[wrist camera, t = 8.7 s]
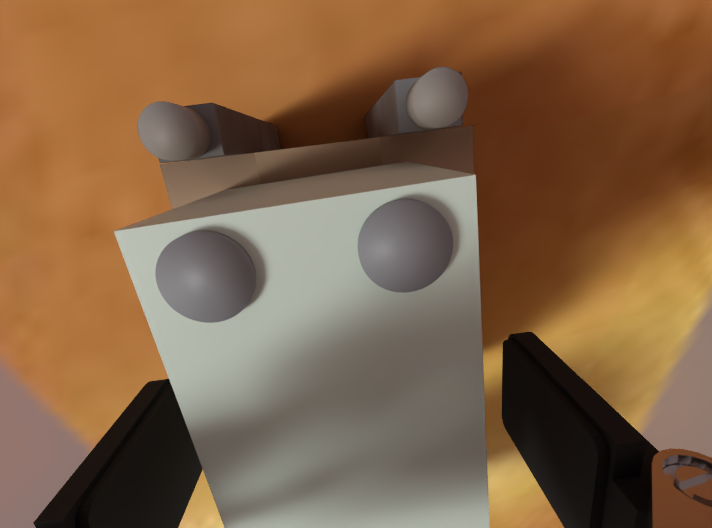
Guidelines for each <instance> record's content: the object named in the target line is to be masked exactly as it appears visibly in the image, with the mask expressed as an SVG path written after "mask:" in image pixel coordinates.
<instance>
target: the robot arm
mask: <svg viewBox="0 0 712 528" xmlns="http://www.w3.org/2000/svg"><path fill="white" fill-rule="evenodd" d="M502 420H503V424H504V426H505V429H506V431H507V432H508V434H509V436H510V437H511V439H512V441H513V442H514V444H515V446H516V447H517V449H518V451H519V452H520V454H521V456H522V457H523V459H524V461H525V462H526V464H527V466H528V467H529V469H530V471H531V472H532V474H533V476H534V477H535V479H536V481H537V482H538V484H539V486H540V487H541V489H542V491H543V492H544V494H545V496H546V497H547V499H548V501H549V502H550V504H551V506H552V507H553V509H554V511H555V512H556V514H557V516H558V518H559V519H560V521H561V523H562V524H563V526H564V528H712V458H711V457H708V456H705V455H703V454H700V453H697V452H693V451H689V450H684V449H667V450H662V451H660V452H659V451H658V450H657V449H656V448H655V447H654V446H653V445H651V444H650V443H649V442H648V441H647V440H646V439H645V438H644V437H643V436H642V435H641V434H640V433H639V432H638V431H637V430H636V429H635V428H634V427H632V426H631V425H630V424H629V423H628V422H627V421H626V420H625V419H624V418H623V417H622V416H621V415H620V414H619V413H618V412H617V411H616V410H614V409H613V408H612V407H611V406H610V405H609V404H608V403H607V402H606V401H605V400H604V399H603V398H602V397H601V396H600V395H599V394H598V393H596V392H595V391H594V390H593V389H592V388H591V387H590V386H589V385H588V384H587V383H586V382H585V381H584V380H583V379H581V378H580V377H579V376H578V375H577V374H576V373H575V372H574V371H573V370H572V369H571V368H570V367H569V366H568V365H566V364H565V363H564V362H563V361H562V360H561V359H560V358H559V357H558V356H557V355H556V354H555V353H554V352H553V351H552V350H551V349H550V348H548V347H547V346H546V345H545V344H544V343H543V342H542V341H541V340H540V339H539V338H538V337H537V336H536V335H535V334H534V333H532V332H524V333H516V334H511V335H509V338H508V340H505V341H504V342H503V371H502ZM202 469H203V468H202V465H201V463H200V460H199V457H198V455H197V452H196V449H195V447H194V444H193V441H192V439H191V436H190V433H189V431H188V428H187V425H186V423H185V420H184V417H183V415H182V412H181V409H180V407H179V404H178V401H177V399H176V396H175V393H174V391H173V388H172V385H171V383H170V380H169V379H165V380H157V381H150V382H148V383H147V384H146V385H145V386H144V387H143V388H142V390H141V391H140V392H139V393H138V394H137V396H136V397H135V398H134V399H133V401H132V402H131V403H130V404H129V406H128V407H127V408H126V409H125V411H124V412H123V413H122V414H121V415H120V417H119V418H118V419H117V420H116V422H115V423H114V424H113V425H112V427H111V428H110V429H109V430H108V431H107V433H106V434H105V435H104V436H103V438H102V439H101V440H100V441H99V443H98V444H97V445H96V446H95V448H94V449H93V450H92V451H91V452H90V454H89V455H88V456H87V457H86V459H85V460H84V461H83V462H82V464H81V465H80V466H79V467H78V469H77V470H76V471H75V472H74V473H73V475H72V476H71V477H70V478H69V480H68V481H67V482H66V484H65V485H64V486H63V487H62V488H61V490H60V491H59V492H58V493H57V495H56V496H55V497H54V498H53V499H52V501H51V502H50V503H49V504H48V505H47V507H46V508H45V509H44V510H43V512H42V513H41V514H40V515H39V517H38V518H37V519H36V520H35V522H34V525H35V527H36V528H178V526H179V524H180V522H181V519H182V517H183V515H184V512H185V510H186V507H187V505H188V503H189V500H190V498H191V495H192V493H193V491H194V488H195V486H196V484H197V481H198V479H199V476H200V474H201V472H202Z"/></svg>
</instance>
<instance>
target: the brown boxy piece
mask: <svg viewBox="0 0 712 528" xmlns="http://www.w3.org/2000/svg"><path fill="white" fill-rule="evenodd" d="M467 102H468V88H467V85H466V82H465V80H464V78H463V77H462V73H461V72H457V71H455V70H454V69H451V68H448V67H438V68H434V69H432V70H430V71H428V72H427V73H426V74H424V75H423V76H422V77H417V78H409V79H401V80H395V81H394V82H393V84H392V85H391V86H390V87H389V88H388V89H387V91H386V92H385V93H384V94H383V95H382V96H381V98H380V99H379V100H378V101H377V102H376V103H375V105H374V106H373V107H372V108H371V109H370V110H369V112H368V113H367V114H366V125H367V135H368V139H361V140H353V141H345V142H337V143H329V144H321V145H313V146H305V147H297V148H289V149H281V146H280V140H279V135H278V129H277V126H275V125H273V124H270V123H267V122H264V121H262V120H259V119H256V118H253V117H250V116H248V115H245V114H242V113H239V112H237V111H234V110H231V109H228V108H225V107H223V106H220V105H217V104H214V103H206V104H198V105H190V106H180V105H177V104H173V103H169V102H155V103H152V104H150V105H148V106H147V107H146V108H145V109H144V110H143V111H142V113H141V114H140V116H139V120H138V133H139V137H140V139H141V141H142V143H143V145H144V146H145V147H146V149H147V150H148V151H149V152H150V153H152V154H153V155H154V156H156V157H158V158H159V162H160V163H167V162H177V163H168V164H160V167H161V171H162V174H163V178H164V181H165V185H166V188H167V192H168V196H169V199H170V203H171V206H172V209H175V208H178V207H180V206H183V205H186V204H188V203H191V202H194V201H196V200H199V199H202V198H204V197H207V196H210V195H212V194H215V193H218V192H220V191H223V190H227V189H234V188H240V187H246V186H253V185H259V184H266V183H272V182H279V181H285V180H291V179H298V178H304V177H311V176H317V175H323V174H330V173H336V172H343V171H349V170H355V169H362V168H368V167H375V166H381V165H387V164H394V163H400V162H407V161H408V162H413V163H418V164H423V165H428V166H433V167H439V168H444V169H449V170H454V171H459V172H464V173H469V174H474V125H473V126H465V127H457V128H451V127H456V126H462V125H463V120H462V114H463V112H464V111H465V108H466V106H467ZM445 128H449V129H445ZM440 129H441V130H440ZM190 160H193V161H190ZM179 161H185V162H179Z"/></svg>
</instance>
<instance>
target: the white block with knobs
mask: <svg viewBox="0 0 712 528" xmlns="http://www.w3.org/2000/svg"><path fill="white" fill-rule="evenodd" d="M114 233H115V236H116V239H117V241H118V244H119V247H120V249H121V252H122V255H123V257H124V260H125V263H126V265H127V268H128V271H129V273H130V276H131V279H132V281H133V284H134V287H135V289H136V292H137V295H138V297H139V300H140V303H141V305H142V308H143V311H144V313H145V316H146V319H147V321H148V324H149V327H150V329H151V332H152V335H153V337H154V340H155V343H156V345H157V348H158V351H159V353H160V356H161V359H162V361H163V364H164V367H165V369H166V372H167V375H168V377H169V380H170V383H171V385H172V388H173V391H174V393H175V396H176V399H177V401H178V404H179V407H180V409H181V412H182V415H183V417H184V420H185V423H186V425H187V428H188V431H189V433H190V436H191V439H192V441H193V444H194V447H195V449H196V452H197V455H198V457H199V460H200V463H201V465H202V468H203V471H204V473H205V476H206V479H207V481H208V484H209V487H210V489H211V492H212V495H213V497H214V500H215V503H216V505H217V508H218V511H219V513H220V516H221V519H222V521H223V524H224V527H225V528H490V527H489V502H488V476H487V450H486V424H485V398H484V372H483V346H482V321H481V295H480V269H479V243H478V217H477V191H476V175H474V174H469V173H464V172H459V171H454V170H449V169H444V168H439V167H433V166H428V165H423V164H418V163H413V162H408V161H407V162H400V163H394V164H387V165H381V166H375V167H368V168H362V169H355V170H349V171H343V172H336V173H330V174H323V175H317V176H311V177H304V178H298V179H291V180H285V181H279V182H272V183H266V184H259V185H253V186H246V187H240V188H234V189H227V190H223V191H220V192H218V193H215V194H212V195H210V196H207V197H204V198H202V199H199V200H196V201H194V202H191V203H188V204H186V205H183V206H180V207H178V208H175V209H172V210H170V211H167V212H164V213H161V214H159V215H156V216H153V217H151V218H148V219H145V220H143V221H140V222H137V223H135V224H132V225H129V226H127V227H124V228H121V229H119V230H116V231H114Z"/></svg>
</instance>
